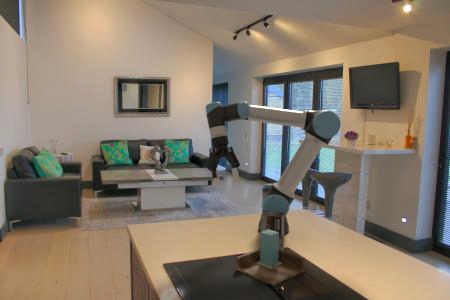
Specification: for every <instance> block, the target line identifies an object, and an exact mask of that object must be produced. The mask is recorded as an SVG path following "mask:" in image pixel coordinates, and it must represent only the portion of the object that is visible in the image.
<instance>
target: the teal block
mask: <svg viewBox="0 0 450 300" xmlns="http://www.w3.org/2000/svg"><path fill="white" fill-rule="evenodd" d="M259 232H260V231H259ZM259 234H260V238H259V239H260V240H259V248H260V263H262V264H265V265H268V266H272V265H275V264H277V263H278V255H279V232H276V231H273V230H269V229H268V230H265V231H263V232H260V233H259Z"/></svg>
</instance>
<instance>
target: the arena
mask: <svg viewBox="0 0 450 300" xmlns="http://www.w3.org/2000/svg"><path fill="white" fill-rule="evenodd" d="M305 258H306V257H303V256H300V255H297V254H294V253H292V252H289V251H286V250H284V251H283V250H280V249H279V255H278V263H277V264H275V265H272V266H268V265H265V264H262V263H260V247H259V248H256V249H254V250H251V251H248V252H246V253H244V254H241V255H238V256H236V257H235V270H236V271H237V270H238V271H237V272H239V271H240V272H239V273H242V274H244V275H246V274H247V275H246V276H249V277H251V278H253V279H256V280H258V281H260V282H263V283H265V284H267V285H269V284H271V285H270V286H272V285H275V284H277V283H280V282H282V281H284V280H286V281H288V280H290V279H291V278H293V277H295V276H297V275H300V274H301V273H304V272H305V269H306V268H305V267H306V266H305V265H306V264H305V263H306V261H305V260H306V259H305ZM289 278H290V279H289ZM287 279H288V280H287ZM284 282H285V281H284ZM282 283H283V282H282ZM280 284H281V283H280Z"/></svg>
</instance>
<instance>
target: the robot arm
mask: <svg viewBox="0 0 450 300" xmlns="http://www.w3.org/2000/svg"><path fill="white" fill-rule="evenodd" d="M205 113H206V114H205V115H206V119H207V124H208V130H209V133H210V135H209V136H210V138H211V139H210V141H211V148H209V150H208V151H209V153H208V154H209V155H208V160H207V171H208V170H209V171H208V172H211V175H212V178H213V183H214V186H215V187H216V186H221V180H220V179H221V178H220V174H219V173H220V172H219V170H218V166H219V163H220V160H221V158H222V159H226V161H227V163H229V165H230V167H231V172H232V173H231V174H232V177H233V184H234V183H240V182H241V181H240V176H239V175H240V174H239V168H240V166H241V163H240V161H239V160H238V158H237V155H236V153H235V151H234V148H233V146H229V147H228V144H229V138H228V137H229V136H227V135H228V133H227V132H228V131H227V126H226V123H229V122H234V121H240V120H241V121H242V120H243V121H250V122H256V123H257V122H258V123H265V124H271V125H278V126H286V127H294V128H300V129H301V130H302V131H304V136H305V137H304V139H303V140H302V142H301V143H300V145H299V146H298V148H297V150H296V152H295V154H293V156H292V158H291V160H290V161H289V163H288V164H287V166H286V168H285V169H284V171H283V173H282V175H281V176H280V178H279V179H278V181H277V182H274V183H265V184H263V185H262V189H261V190H262V193H261V194H262V195H261V197H262V198H261V201H262V203H261V214H262V213H263V212H264V211H268V212H280V213H284V235H285V234H287V233H289V232H290V225H289V222H288V218H287V215H288V213H289V210H290V206H291V204H292V203H293V201H294V199H296V198H295V197H296V196H295V195H296V194H295V192H296V190H297V188H298V187H299V185H300V183H301V182H302V180H303V179H304V177H305V176H306V174H307V172H308V170H309V169H310V168H311V166H312V164H313V163H314V162H315V159H316V158H317V157H318V155H319V154H320V151H321V150H322V148H323V147H326V146H328V145H329V143H330V142H331V140H332V139H333V138H334V137H335V136H336V135H338V133H339V131H340V129H341V126H342V124H341V119H340V117H339V115H338V114H337V113H335V111H332V110H329V109H321V110H309V109H308V110H307V109H305V110H303V111H300V110H294V109H293V110H291V109H283V108H276V107H269V106H262V105H254V104H249V102H248V101H246V100H245V101H239V102H235V103H229V104H226V105H222V102H220V101H213V102H209V103H207V104H206V105H205ZM257 227H258V228H257V229H258V231H259V232H261V217H260V219H259V222H258V225H257Z"/></svg>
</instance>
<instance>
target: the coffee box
mask: <svg viewBox="0 0 450 300" xmlns="http://www.w3.org/2000/svg"><path fill="white" fill-rule="evenodd" d="M260 218H261V232H263V231H265V230H268V229H269V230H273V231H276V232H279V249H280V250H283V251H285V234H284V213H280V212H268V211H264V212H263V213H262V212H261V214H260Z"/></svg>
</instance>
